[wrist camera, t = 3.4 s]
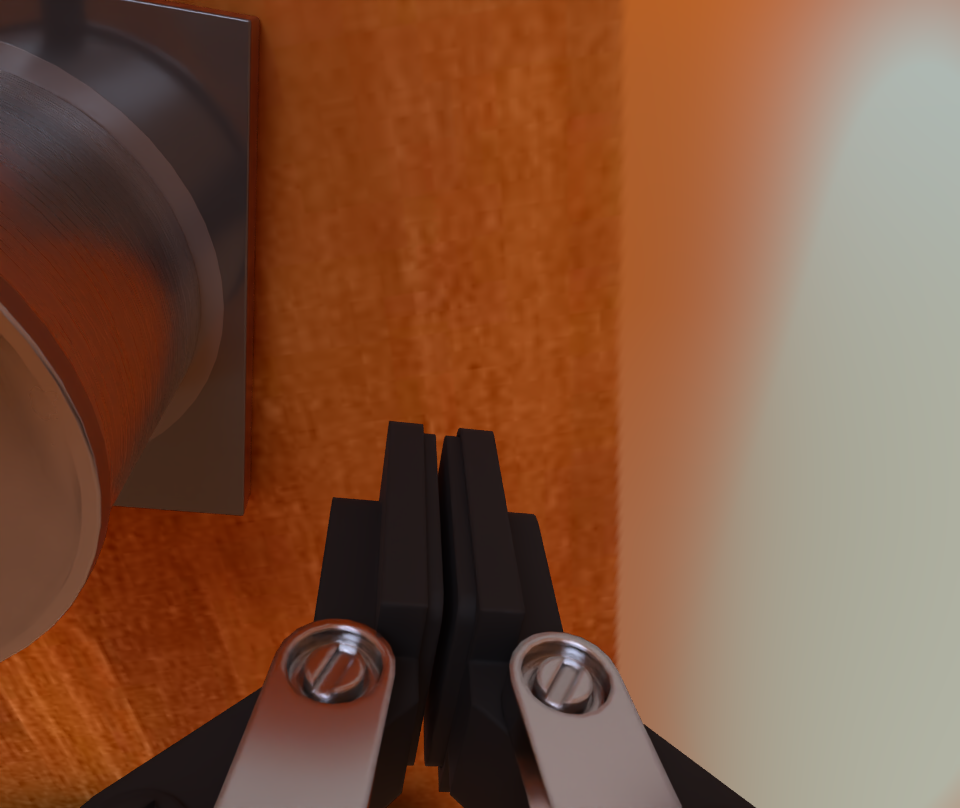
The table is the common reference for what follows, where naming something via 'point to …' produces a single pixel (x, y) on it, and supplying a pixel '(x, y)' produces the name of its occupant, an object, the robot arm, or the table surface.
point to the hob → (174, 200)
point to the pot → (77, 344)
